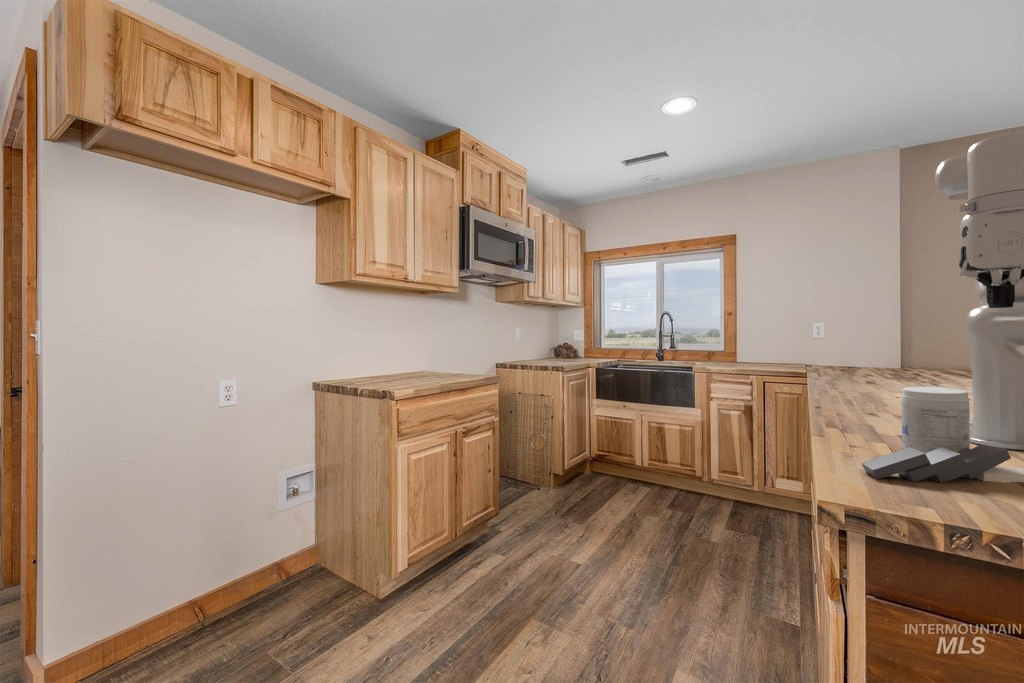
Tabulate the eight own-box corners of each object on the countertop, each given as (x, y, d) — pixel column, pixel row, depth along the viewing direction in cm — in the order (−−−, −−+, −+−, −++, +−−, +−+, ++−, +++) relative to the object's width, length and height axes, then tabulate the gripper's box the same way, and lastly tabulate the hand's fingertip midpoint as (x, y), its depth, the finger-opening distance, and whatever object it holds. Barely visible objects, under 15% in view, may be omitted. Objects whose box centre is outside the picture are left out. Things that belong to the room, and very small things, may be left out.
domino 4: (940, 464, 78) (979, 445, 78) (945, 473, 78) (984, 454, 78) (965, 469, 74) (1006, 448, 74) (970, 478, 73) (1011, 458, 74)
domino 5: (963, 466, 77) (1020, 467, 76) (964, 475, 77) (1020, 477, 76) (984, 473, 73) (1044, 475, 71) (984, 483, 73) (1044, 486, 71)
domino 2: (892, 465, 78) (941, 447, 76) (898, 474, 78) (947, 456, 76) (908, 472, 74) (960, 453, 72) (914, 482, 74) (966, 463, 72)
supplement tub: (897, 454, 90) (896, 385, 90) (960, 459, 85) (958, 387, 85) (909, 466, 82) (907, 391, 82) (979, 473, 77) (977, 393, 77)
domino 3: (918, 466, 77) (967, 447, 76) (923, 475, 77) (972, 456, 76) (936, 473, 73) (988, 454, 72) (941, 483, 73) (993, 463, 72)
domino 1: (861, 463, 80) (910, 446, 78) (865, 471, 80) (915, 456, 78) (872, 470, 76) (925, 453, 74) (877, 479, 76) (930, 463, 74)
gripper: (959, 207, 75) (961, 310, 76) (1075, 194, 70) (1076, 304, 71) (933, 217, 82) (935, 310, 83) (1037, 205, 77) (1038, 305, 78)
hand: (1000, 307), depth 77 cm, fingers closed
